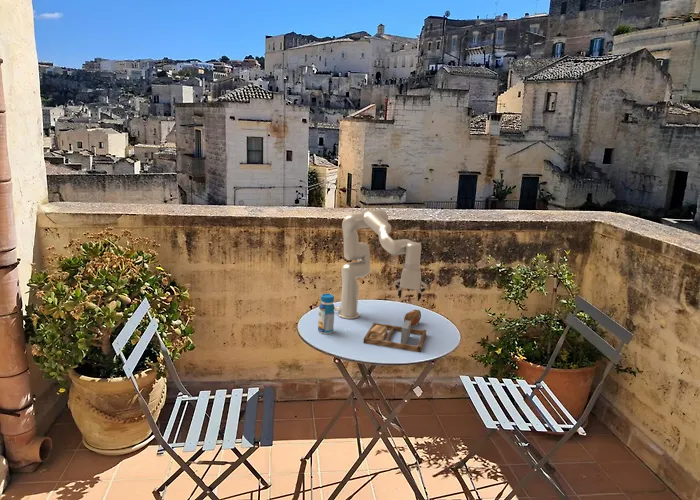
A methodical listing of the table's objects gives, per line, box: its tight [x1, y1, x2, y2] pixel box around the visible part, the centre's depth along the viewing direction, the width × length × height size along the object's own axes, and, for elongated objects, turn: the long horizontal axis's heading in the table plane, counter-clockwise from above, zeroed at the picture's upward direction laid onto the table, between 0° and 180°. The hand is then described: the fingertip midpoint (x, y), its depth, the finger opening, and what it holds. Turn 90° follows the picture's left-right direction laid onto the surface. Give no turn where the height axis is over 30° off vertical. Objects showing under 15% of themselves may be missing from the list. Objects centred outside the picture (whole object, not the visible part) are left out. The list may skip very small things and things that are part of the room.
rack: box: [362, 322, 427, 353], centre depth 283 cm, size 29×24×3 cm
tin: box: [403, 309, 422, 328], centre depth 304 cm, size 15×3×8 cm, turn 143°
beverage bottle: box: [317, 293, 335, 335], centre depth 285 cm, size 8×8×20 cm
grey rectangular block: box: [400, 320, 412, 344], centre depth 282 cm, size 3×12×9 cm, turn 165°
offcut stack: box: [369, 325, 389, 341], centre depth 285 cm, size 7×13×5 cm, turn 165°
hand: (409, 298), depth 278 cm, fingers open, 9 cm apart
